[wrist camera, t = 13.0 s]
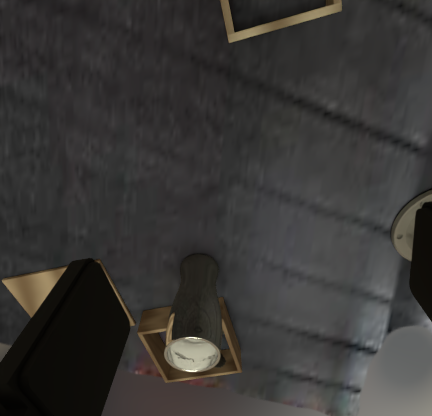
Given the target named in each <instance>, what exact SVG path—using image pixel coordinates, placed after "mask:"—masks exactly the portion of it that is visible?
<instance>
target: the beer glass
mask: <svg viewBox="0 0 432 416" xmlns="http://www.w3.org/2000/svg"><path fill="white" fill-rule="evenodd" d="M218 273H219V267H218V264H217V262H216V261H215V260H214V259H213V258H212V257H210V256H208V255H204V254H193V255H190V256H188V257H186V258H185V259H184V260H183V261H182V263H181V266H180V274H181V283H180V286H179V289H178V292H177V294H176V296H175V299H174V301H173V304H172V307H171V310H170V313H169V318H168V322H167V329H166V339H165V350H164V357H165V359H166V361H167V362H168V363H169V364H170V365H171V366H172V367H174V368H176V369H178V370H181V371H185V372H203V371H206V370H209V369H211V368H213V367H214V366H215V365H216V364H217V363H218V362H219V360H220V350H221V340H222V316H221V309H220V304H219V299H218V295H217V290H216V280H217V277H218Z"/></svg>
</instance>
